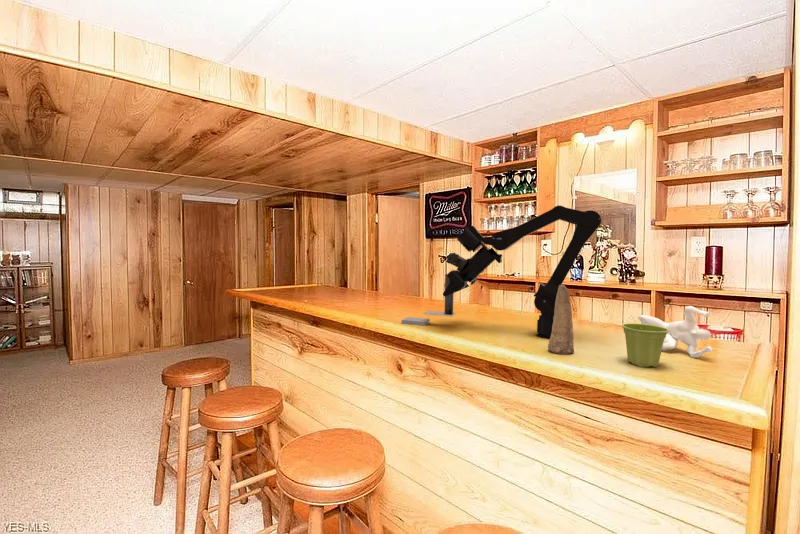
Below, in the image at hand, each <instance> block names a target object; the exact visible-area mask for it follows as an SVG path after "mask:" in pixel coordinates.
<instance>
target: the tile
mask: <svg viewBox="0 0 800 534" xmlns="http://www.w3.org/2000/svg"><path fill="white" fill-rule="evenodd" d="M430 321H431V319H430V318H428V317H427V318H423V317H413V316H406V317H405V318H403V319H401V324H402V325H409V326H419V327H420V326H421V327H425V326H427V325H428V324H430Z"/></svg>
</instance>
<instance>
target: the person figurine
mask: <svg viewBox="0 0 800 534" xmlns="http://www.w3.org/2000/svg"><path fill="white" fill-rule="evenodd" d="M693 313H695V314H700V315H701V316H704V317H706V318H708V317H710V316H711V313H710V312H709V311H704V310H702V309H698V308H697V307H695V306H692V305H687V306H685V307H684V312H683V315H684V317H685V318H686V319H684V320H678V321H677V320H676V321H671V322H666V321H663V320H661V319H659V318H658V317H655V316H651V315H648V314H647V315H646V314H645V315H643V314H640V315H639V316H638V320H639V321H640V322H641V324H647V325H654V326H659V327H663V328H666V329H668V330H669V332H668V333H667V334H666V338H665V339H664V342H663V346H662V351H663V350H664V351H666V350H674V349H676V348H677V346H678V345H679V342H678V341H680V342H681V343H684V344H685V345H686V346H687V348H686V352H687V353H688V355H689V356H690V357H689V358H693V359H698V358H701V356H703V355H704V354H706V353H709V352H712V351H713V347H712V346H711V345H709V346H708V345H707V346H706V347H704V348H703V349H700V350H697V348H698V346H699V345H698V340H702V341H703V340H709V339H711V337H712V332H711V331H710V330H709V329H705V328H700V327H699V325H698V323H696V322H697V317H695V315H693Z"/></svg>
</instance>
